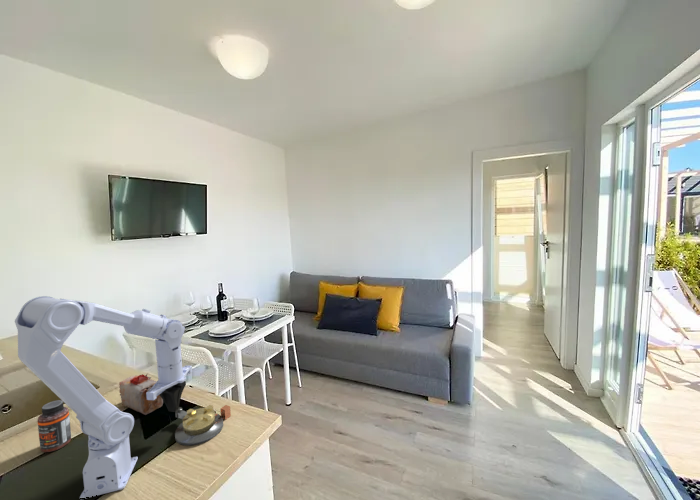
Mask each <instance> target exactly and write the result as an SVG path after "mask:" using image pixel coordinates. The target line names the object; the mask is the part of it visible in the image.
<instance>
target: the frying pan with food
mask: <svg viewBox="0 0 700 500" xmlns="http://www.w3.org/2000/svg"><path fill="white" fill-rule="evenodd" d="M219 411H220V414H219V413H216V412H215V424H214V426H213V427H212V428H210V429H209V430H207V431H206V432H203V433H201V434H197V435H188V434H185V433H184V431H183V421H182V422H181V423H180V424H179V425H178V426H177V428H176V429H175V432H174V437H175V438H174V439H175V442H176V443H178V444H179V445H180V446H184V447H185V446H187V447H188V446H189V447H191V446H197V445H200V444H201V445H202V444H204V443H207V442H208V441H210V440H212V439H214V438H215V437H217V435H219V434H220V432H221V431H222V429H223V428H224V420H225V421H226V420H227V419H229V418H230V417H231V416H232V413H231V405H227V404H225V405H223V406H221V407H220V410H219Z"/></svg>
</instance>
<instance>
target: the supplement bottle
mask: <svg viewBox="0 0 700 500" xmlns="http://www.w3.org/2000/svg"><path fill="white" fill-rule="evenodd" d="M70 421H71V419H70V410H69V407H67V406H64V402H63V401H62V400H61V399H60V400H59V399H57V400H53V401H50V402H47V403H46V404H44V405H43V406H42V407H41V414H39V416H38V418H37V431H38V439H39V449H40V452H42V453H51V452H55V451H57V450H60V449H61V448H64V447H65V446H67V445H68V444H70V442H71V440H72V432H71V431H72V429H71V422H70Z"/></svg>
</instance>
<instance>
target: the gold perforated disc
mask: <svg viewBox="0 0 700 500" xmlns="http://www.w3.org/2000/svg"><path fill="white" fill-rule="evenodd" d="M174 413H175V418H177V419H181V420H182V422H183V431H184V433H185V434H188V435H197V434H201V433H203V432H206V431H207V430H209V429H210V428H212V427H213V426H214V424H215V413H216V412H215V410H214V405H212V404H209V405H208V406H207V405H206V407H200V408H196V409H193V408H189V409H188V410H186V411H185V410H183V407H182V406H179V408H178V410H177V411H175V412H174Z"/></svg>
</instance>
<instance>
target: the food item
mask: <svg viewBox="0 0 700 500" xmlns="http://www.w3.org/2000/svg"><path fill="white" fill-rule="evenodd" d="M148 374H149V372H147V373H146V374H139V375H132V376H129V377H127V378H125V379H123V380H122V381H120V382H119V385H118V386H119V387H118V388H119V396H120V399H121V401H120V402H121V405H122V406H123V407H126V408H129V409H131V410H133V411H136V412H138V413H140V414H142V415H145V416H146V415H149V414H150V413H153V412H154V411H156V410H157V409H159V408H162V407H163V404H164V400H163V399H162V398H161V396H160V395H158V396H156V397H157V398H156V399H155V400H147V396H146V392H148V391H149V390H150V389H151V388H152V387H153V386H154V384H155V383H156V382H157V380H155V379H151V378H152V377H150V376H148Z"/></svg>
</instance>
